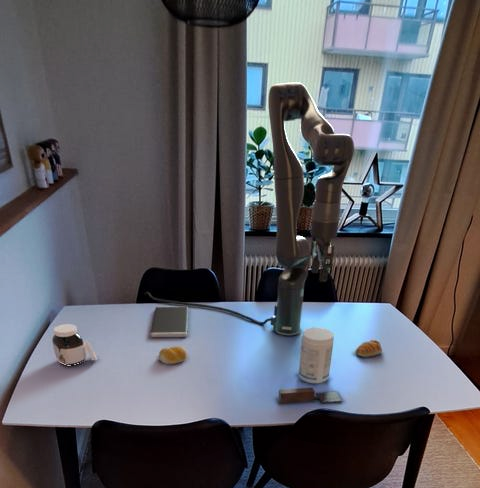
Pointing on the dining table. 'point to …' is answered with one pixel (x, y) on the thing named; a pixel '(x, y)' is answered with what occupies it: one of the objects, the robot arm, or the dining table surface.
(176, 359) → the bread roll
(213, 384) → the dining table surface
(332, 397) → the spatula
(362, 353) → the pastry
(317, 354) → the supplement tub
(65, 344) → the spread jar
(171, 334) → the grey tablet slab
